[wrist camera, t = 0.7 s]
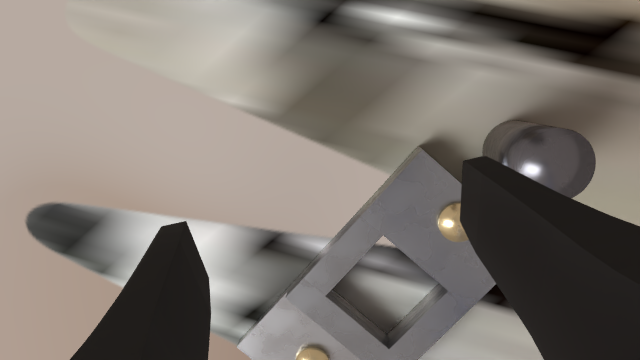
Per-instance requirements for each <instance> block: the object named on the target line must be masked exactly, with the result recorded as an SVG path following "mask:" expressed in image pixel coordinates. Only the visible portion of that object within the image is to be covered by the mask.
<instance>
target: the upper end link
mask: <svg viewBox="0 0 640 360" xmlns="http://www.w3.org/2000/svg"><path fill="white" fill-rule="evenodd" d="M461 187H462V184H461V183H460V182H459V181H458V180H457V179H455V178H454V177H453V176H452V175H451V174H450V173H449V172H447V171H446V170H445V169H444V168H443V167H442V166H441V165H440V164H438V163H437V162H436V161H435V160H434V159H433V158H432V157H431V156H429V155H428V154H427V153H426V152H425V151H424V150H423V149H421V148H420V147H419V146H418V147H417V148H416V149H415V150H414V151H413V152H412V153H411V154H410V155H409V156H408V158H407V159H406V160H405V161H404V162H403V163H402V164H401V165H400V166H399V167H398V168H397V170H396V171H395V172H394V173H393V174H392V175H391V176H390V177H389V178H388V179H387V180H386V181H385V183H384V184H383V185H382V186H381V187H380V188H379V189H380V192H379V193H378V194H377V195H376V196H375V197H374V198H373V199H372V201H371V202H370V203H369V204H368V205H367V206H366V207H365V208H364V209H363V210H362V211H361V212H360V214H359V215H358V216H357V217H356V218H355V219H354V220H353V221H352V222H351V223H350V224H349V225H348V227H347V228H346V229H345V230H344V231H343V232H342V233H341V234H340V235H339V236H338V237H337V239H336V240H335V241H334V242H333V243H332V244H331V245H330V246H329V247H328V248H327V249H326V250H325V252H324V253H323V254H322V255H321V256H320V257H319V258H318V259H317V260H316V261H315V262H314V263H313V265H312V266H311V267H310V268H309V269H308V270H307V271H306V272H305V273H304V274H303V275H302V276H301V278H300V279H299V280H298V281H297V282H296V283H295V284H294V285H293V286H292V287H291V288H290V289H289V291H288V292H287V295H286V299H288V300H289V301H290V302H291V303H292V304H294V305H295V306H296V307H297V308H299V309H300V310H301V311H302V312H303V313H305V314H306V315H307V316H308V317H309V318H311V319H312V320H313V321H314V322H315V323H317V324H318V325H319V326H320V327H321V328H323V329H324V330H325V331H326V332H327V333H329V334H330V335H331V336H332V337H333V338H335V339H336V340H337V341H338V342H339V343H341V344H342V345H343V346H344V347H345V348H347V349H348V350H349V351H350V352H351V353H353V354H354V355H355V356H356V357H358V358H359V359H360V360H418V359H419V358H420V357H421V356H422V355H423V354H424V353H425V352H426V351H427V350H428V349H429V348H430V347H431V346H432V345H433V344H434V343H435V342H436V341H437V340H438V339H439V338H441V337H442V336H443V335H444V334H445V333H446V332H447V331H448V330H449V329H450V328H451V327H452V326H453V325H454V324H455V323H456V322H457V321H458V320H459V319H460V318H461V317H462V316H463V315H464V314H465V313H466V312H468V311H469V310H470V309H471V308H472V307H473V306H474V305H475V304H476V303H477V302H478V301H479V300H480V299H481V298H482V297H483V296H484V295H485V294H486V293H487V292H488V291H489V290H490V289H491V288H492V287H493V286H495V285H496V282H495V281H494V280H493V278H492V277H491V275H490V274H489V272H488V271H487V269H486V268H485V266H484V265H483V263H482V262H481V260H480V259H479V257H478V256H477V254H476V253H475V251H474V249H473V247H472V245H471V243H470V241H469V239H468V237H467V235H466V233H465V231H464V229H463V227H462V225H461V222H460V206H461ZM383 235H384V236H385V237H386V238H387V239H388V240H390V241H391V242H392V243H393V244H394V245H395V246H397V247H398V248H399V249H400V250H401V251H402V252H403V253H405V254H406V255H407V256H408V257H409V258H410V259H412V260H413V261H414V262H415V263H416V264H417V265H419V266H420V267H421V268H422V269H423V270H424V271H426V272H427V273H428V274H429V275H430V276H431V277H433V278H434V279H435V280H436V281H437V282H438V283H440V284H441V285H442V286H443V288H442V289H441V290H440V291H439V292H438V293H437V294H436V295H435V296H434V297H433V298H432V299H431V300H430V301H429V302H428V303H427V304H426V305H425V306H424V307H423V308H422V309H421V310H420V311H419V312H418V313H417V314H416V315H415V316H414V317H413V318H412V319H411V320H410V321H409V322H408V323H407V324H406V325H405V326H404V327H403V328H402V329H401V330H400V331H399V332H398V333H397V334H396V335H395V336H394V337H393V338H392V339H391V340H390V341H389V342H387V341H386V340H385V339H384V338H383V337H381V336H380V335H379V334H378V333H377V332H375V331H374V330H373V329H372V328H371V327H370V326H368V325H367V324H366V323H365V322H364V321H362V320H361V319H360V318H359V317H358V316H356V315H355V314H354V313H353V312H352V311H350V310H349V309H348V308H347V307H346V306H344V305H343V304H342V303H341V302H340V301H339V300H337V299H336V298H335V297H334V296H333V295H331V294H330V293H329V292H330V291H331V290H332V289H333V287H334V286H335V285H336V284H337V283H338V282H339V281H340V280H341V279H342V278H343V277H344V276H345V275H346V274H347V273H348V272H349V271H350V270H351V268H352V267H353V266H354V265H355V264H356V263H357V262H358V261H359V260H360V259H361V258H362V257H363V256H364V255H365V254H366V253H367V252H368V250H369V249H370V248H371V247H372V246H373V245H374V244H375V243H376V242H377V241H378V240H379V239H380V238H381V237H382V236H383Z"/></svg>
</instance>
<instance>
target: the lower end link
mask: <svg viewBox="0 0 640 360" xmlns="http://www.w3.org/2000/svg"><path fill="white" fill-rule="evenodd" d="M379 192H380V189H378V190H377V191H376V192H375V193H374V195H373V196H372V197H371V198H370V199H369V200H368V201H367V202H366V203H365V205H363V207H362V208H361V209H360V210H359V211H358V212H357V213H356V214H355V215H354V216H353V218H351V220H350V221H349V222H348V223H347V224H346V225H345V226H344V227H343V228H342V229H341V230H340V232H339V233H338V234H337V235H336V236H335V237H334V238H333V239H332V240H331V241H330V242H329V243H328V245H327V246H326V247H325V248H324V249H323V250H322V251H321V252H320V253H319V254H318V255H317V256H316V258H315V259H314V260H313V261H312V262H311V263H310V264H309V265H308V266H307V267H306V268H305V270H304V271H303V272H302V273H301V274H300V275H299V276H298V277H297V278H296V279H295V280H294V281H293V283H292V284H291V285H290V286H289V287H288V288H287V289H286V290H285V291H284V292H283V293H282V295H281V296H280V297H279V298H278V299H277V300H276V301H275V302H274V303H273V304H272V305H271V306H270V308H269V309H268V310H267V311H266V312H265V313H264V314H263V315H262V316H261V317H260V318H259V320H258V321H257V322H256V323H255V324H254V325H253V326H252V327H251V328H250V329H249V330H248V331H247V333H246V334H245V335H244V336H243V337H242V338H241V339H240V340H239V343H238V345H237V348H238V349H240V350H241V351H242V352H243V353H245V354H246V355H247V356H248V357H250V358H251V359H252V360H360V359H359V358H358V357H356V356H355V355H354V354H353V353H351V352H350V351H349V350H348V349H347V348H345V347H344V346H343V345H342V344H341V343H339V342H338V341H337V340H336V339H335V338H333V337H332V336H331V335H330V334H329V333H327V332H326V331H325V330H324V329H323V328H321V327H320V326H319V325H318V324H317V323H315V322H314V321H313V320H312V319H311V318H309V317H308V316H307V315H306V314H305V313H303V312H302V311H301V310H300V309H299V308H297V307H296V306H295V305H294V304H292V303H291V302H290V301H289V300H288V299H286V295H287V292H288V291H289V289H290V288H291V287H292V286H293V285H294V284H295V283H296V282H297V281H298V280H299V279H300V278H301V276H302V275H303V274H304V273H305V272H306V271H307V270H308V269H309V268H310V267H311V266H312V265H313V263H314V262H315V261H316V260H317V259H318V258H319V257H320V256H321V255H322V254H323V253H324V252H325V250H326V249H327V248H328V247H329V246H330V245H331V244H332V243H333V242H334V241H335V240H336V239H337V237H338V236H339V235H340V234H341V233H342V232H343V231H344V230H345V229H346V228H347V227H348V225H349V224H350V223H351V222H352V221H353V220H354V219H355V218H356V217H357V216H358V215H359V214H360V212H361V211H362V210H363V209H364V208H365V207H366V206H367V205H368V204H369V203H370V202H371V201H372V199H373V198H374V197H375V196H376V195H377V194H378V193H379ZM442 288H443V286H442V285H441V284H440V283H439V284H438V285H437V286H436V287H435V288H434V289H433V290H432V291H431V292H430V293H429V294H428V295H427V296H426V297H425V298H424V299H423V300H422V301H421V302H420V303H419V304H418V305H417V306H416V307H415V308H414V309H413V310H412V311H411V312H410V313H409V314H408V315H407V316H406V317H405V318H404V319H403V320H402V321H401V322H400V323H399V324H398V325H397V326H396V327H395V328H394V329H393V330H392V331H391V332H390V333H388V334H387V335H386V334H385V333H384V332H383V331H382V330H380V329H379V328H378V327H377V326H376V325H375V324H373V323H372V322H371V321H370V320H369V319H367V318H366V317H365V316H364V315H363V314H361V313H360V312H359V311H358V310H357V309H355V308H354V307H353V306H352V305H351V304H350V303H348V302H347V301H346V300H345V299H344V298H342V297H341V296H340V295H339V294H338V293H336V292H335V291H334V290H333V289H332V290H331V291H330V292H329V293H330V294H331V295H333V296H334V297H335V298H336V299H337V300H339V301H340V302H341V303H342V304H343V305H344V306H346V307H347V308H348V309H349V310H350V311H352V312H353V313H354V314H355V315H356V316H358V317H359V318H360V319H361V320H362V321H364V322H365V323H366V324H367V325H368V326H370V327H371V328H372V329H373V330H374V331H375V332H377V333H378V334H379V335H380V336H381V337H383V338H384V339H385V340H386V341H387V342H389V341H390V340H391V339H392V338H393V337H394V336H395V335H396V334H397V333H398V332H399V331H400V330H401V329H402V328H403V327H404V326H405V325H406V324H407V323H408V322H409V321H410V320H411V319H412V318H413V317H414V316H415V315H416V314H417V313H418V312H419V311H420V310H421V309H422V308H423V307H424V306H425V305H426V304H427V303H428V302H429V301H430V300H431V299H432V298H433V297H434V296H435V295H436V294H437V293H438V292H439V291H440V290H441V289H442Z"/></svg>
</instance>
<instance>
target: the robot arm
mask: <svg viewBox="0 0 640 360" xmlns="http://www.w3.org/2000/svg"><path fill="white" fill-rule="evenodd" d="M460 222H461V225H462V227H463V229H464V231H465V233H466V235H467V237H468V239H469V241H470V243H471V245H472V247H473V249H474V251H475V253H476V254H477V256H478V257H479V259H480V260H481V262H482V263H483V265H484V266H485V268H486V269H487V271H488V272H489V274H490V275H491V277H492V278H493V280H494V281H495V282H496V284H497V285H498V287H499V288H500V290H501V291H502V293H503V294H504V296H505V297H506V299H507V300H508V301H509V303H510V304H511V306H512V307H513V309H514V310H515V312H516V313H517V315H518V316H519V317H520V319H521V320H522V322H523V324H524V325H525V327H526V328H527V330H528V332H529V333H530V335H531V336H532V338H533V340H534V342H535V344H536V346H537V347H538V349H539V351H540V353H541V355H542V357H543V359H544V360H640V226H637V225H634V224H632V223H629V222H626V221H623V220H621V219H618V218H615V217H613V216H610V215H608V214H605V213H603V212H601V211H598V210H596V209H594V208H591V207H589V206H587V205H584V204H582V203H580V202H578V201H575V200H573V199H571V198H569V197H567V196H565V195H563V194H561V193H558V192H556V191H554V190H552V189H550V188H548V187H546V186H544V185H542V184H540V183H538V182H536V181H534V180H532V179H531V178H529V177H527V176H525V175H523V174H521V173H519V172H517V171H515V170H513V169H511V168H509V167H507V166H505V165H503V164H501V163H499V162H497V161H495V160H493V159H491V158H489V157H487V156H483V157H478V158H474V159H469V160H464V161H463V169H462V187H461V206H460ZM210 321H211V306H210V289H209V277H208V275H207V272H206V270H205V267H204V265H203V262H202V260H201V257H200V255H199V252H198V250H197V247H196V245H195V242H194V240H193V237H192V235H191V232H190V230H189V227H188V225H187V222H186V221H184V222H180V223H175V224H171V225H166V226H162V227H161V228H160V230H159V231H158V233H157V234H156V236H155V238H154V239H153V241H152V243H151V244H150V246H149V248H148V249H147V251H146V253H145V254H144V256H143V258H142V259H141V261H140V263H139V264H138V266H137V268H136V269H135V271H134V272H133V274H132V276H131V277H130V279H129V280H128V282H127V283H126V285H125V286H124V288H123V290H122V292H121V293H120V294H119V296H118V297H117V299H116V300H115V302H114V303H113V304H112V306H111V307H110V309H109V310H108V311H107V313H106V314H105V316H104V317H103V318H102V320H101V321H100V323H99V324H98V325H97V327H96V328H95V329H94V331H93V332H92V333H91V335H90V336H89V337H88V338H87V340H86V341H85V342H84V344H83V345H82V346H81V347H80V348H79V349H78V351H77V352H76V353H75V354H74V355H73V357H72V358H71V359H70V360H208V351H209V337H210Z"/></svg>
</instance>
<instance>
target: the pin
mask: <svg viewBox="0 0 640 360" xmlns="http://www.w3.org/2000/svg"><path fill="white" fill-rule="evenodd" d="M483 156H487V157H489V158H491V159H493V160H495V161H497V162H499V163H501V164H503V165H505V166H507V167H509V168H511V169H513V170H515V171H517V172H519V173H521V174H523V175H525V176H527V177H529V178H531V179H532V180H534V181H536V182H538V183H540V184H542V185H544V186H546V187H548V188H550V189H552V190H554V191H556V192H558V193H561V194H563V195H565V196H567V197H569V198H573V197H575V196H576V195H578V194H579V193H581V192H582V191H583V190H584V189H585V188H586V187H587V185H588V184H589V183H590V181H591V179H592V177H593V174H594V171H595V164H596V161H595V154H594V151H593V148H592V146H591V145H590V143H589V142H588V141H587V140H586V138H584V137H583V136H582V135H581V134H579V133H577V132H575V131H572V130H569V129H563V128H557V127H552V126H546V125H540V124H534V123H528V122H523V121H507V122H504V123H501V124H499V125H498V126H496V127H495V128H494V129H492V130H491V132H490V133H489V134H488V135H487V137H486V139H485V141H484V144H483Z"/></svg>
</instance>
